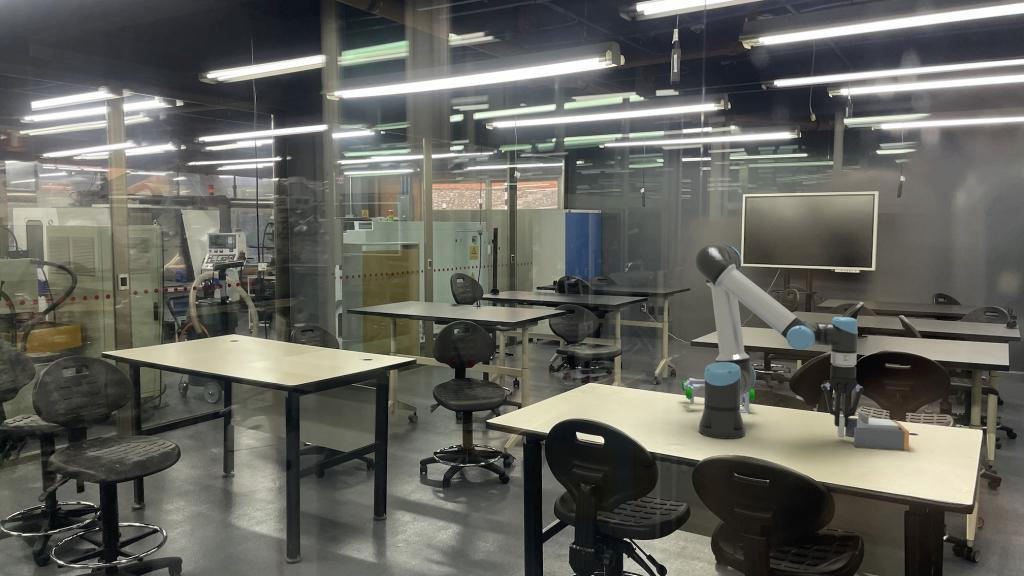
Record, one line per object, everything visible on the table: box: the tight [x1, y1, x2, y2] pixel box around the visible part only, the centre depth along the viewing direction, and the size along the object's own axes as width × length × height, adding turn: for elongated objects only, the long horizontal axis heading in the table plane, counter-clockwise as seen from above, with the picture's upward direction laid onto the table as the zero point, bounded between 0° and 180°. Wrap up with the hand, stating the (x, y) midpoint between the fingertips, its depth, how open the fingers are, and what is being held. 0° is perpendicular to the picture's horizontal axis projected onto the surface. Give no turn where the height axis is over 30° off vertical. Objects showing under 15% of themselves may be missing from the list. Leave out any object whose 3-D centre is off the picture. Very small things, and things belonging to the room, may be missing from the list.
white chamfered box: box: [856, 411, 899, 430], centre depth 220 cm, size 10×8×9 cm
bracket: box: [681, 377, 756, 414], centre depth 269 cm, size 19×25×10 cm
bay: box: [844, 417, 910, 452], centre depth 220 cm, size 15×14×6 cm
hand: (840, 436), depth 223 cm, fingers closed
